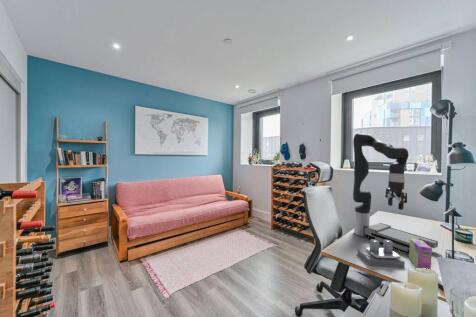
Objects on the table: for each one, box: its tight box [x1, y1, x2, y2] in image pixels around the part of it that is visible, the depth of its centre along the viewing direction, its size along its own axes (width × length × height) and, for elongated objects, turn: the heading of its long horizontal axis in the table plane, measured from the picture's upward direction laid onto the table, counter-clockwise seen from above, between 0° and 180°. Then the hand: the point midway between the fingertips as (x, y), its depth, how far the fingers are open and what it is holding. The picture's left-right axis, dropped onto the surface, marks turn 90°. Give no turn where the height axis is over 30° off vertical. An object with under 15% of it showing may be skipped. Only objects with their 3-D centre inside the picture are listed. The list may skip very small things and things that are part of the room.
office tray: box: [365, 222, 439, 255], centre depth 132 cm, size 21×32×8 cm, turn 29°
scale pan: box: [365, 247, 401, 259], centre depth 112 cm, size 9×13×1 cm
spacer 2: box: [382, 240, 394, 254], centre depth 112 cm, size 4×4×6 cm
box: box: [408, 238, 433, 270], centre depth 109 cm, size 10×6×12 cm, turn 158°
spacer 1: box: [369, 239, 380, 253], centre depth 112 cm, size 4×4×6 cm
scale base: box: [357, 248, 406, 268], centre depth 112 cm, size 12×18×4 cm, turn 87°
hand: (395, 207), depth 119 cm, fingers open, 8 cm apart
